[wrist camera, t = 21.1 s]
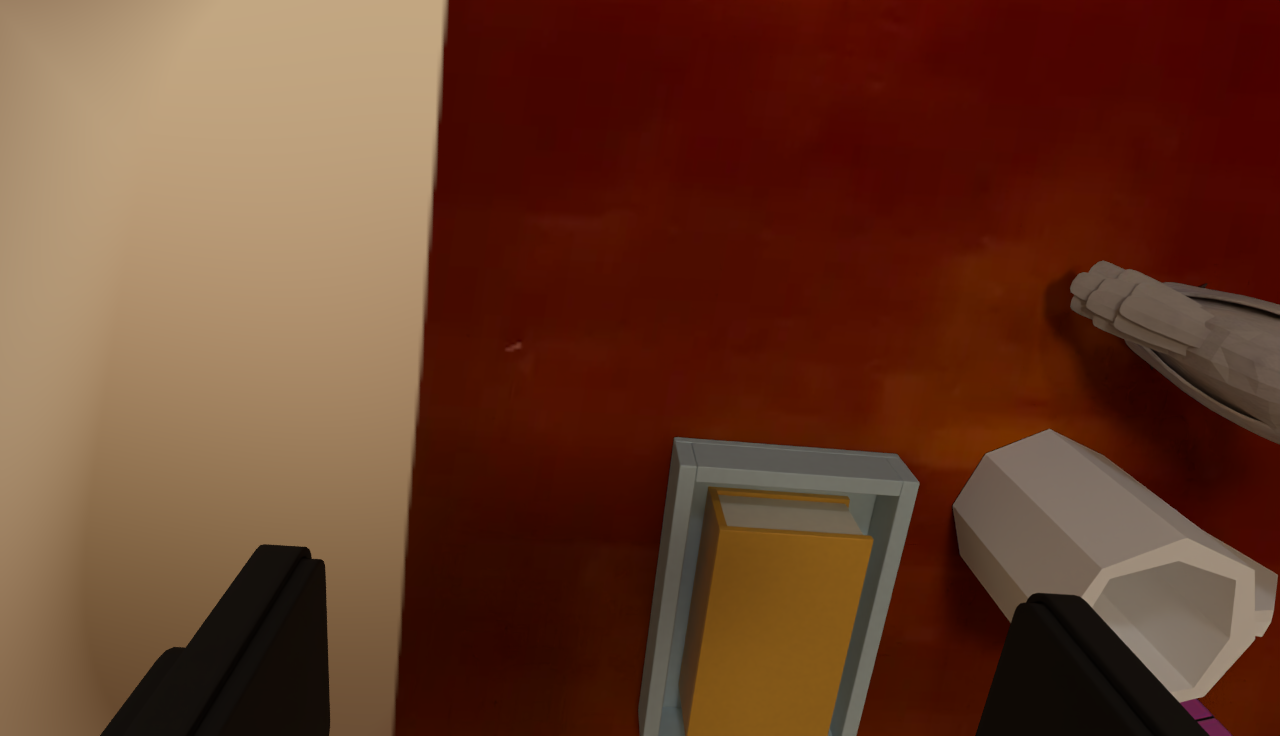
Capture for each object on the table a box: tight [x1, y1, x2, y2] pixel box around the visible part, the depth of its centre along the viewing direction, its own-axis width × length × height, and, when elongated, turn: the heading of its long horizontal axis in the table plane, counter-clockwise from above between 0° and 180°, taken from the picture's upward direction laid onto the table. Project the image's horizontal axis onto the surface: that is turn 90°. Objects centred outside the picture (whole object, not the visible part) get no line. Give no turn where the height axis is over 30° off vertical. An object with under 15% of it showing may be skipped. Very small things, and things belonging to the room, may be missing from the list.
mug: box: [953, 429, 1278, 703], centre depth 36 cm, size 12×9×10 cm
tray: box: [638, 437, 919, 736], centre depth 41 cm, size 11×17×3 cm
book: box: [679, 486, 874, 736], centre depth 40 cm, size 12×7×4 cm, turn 174°
